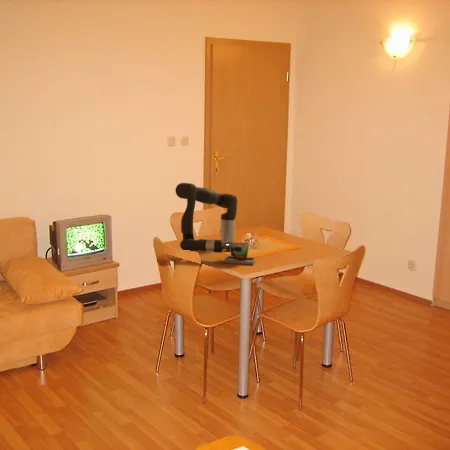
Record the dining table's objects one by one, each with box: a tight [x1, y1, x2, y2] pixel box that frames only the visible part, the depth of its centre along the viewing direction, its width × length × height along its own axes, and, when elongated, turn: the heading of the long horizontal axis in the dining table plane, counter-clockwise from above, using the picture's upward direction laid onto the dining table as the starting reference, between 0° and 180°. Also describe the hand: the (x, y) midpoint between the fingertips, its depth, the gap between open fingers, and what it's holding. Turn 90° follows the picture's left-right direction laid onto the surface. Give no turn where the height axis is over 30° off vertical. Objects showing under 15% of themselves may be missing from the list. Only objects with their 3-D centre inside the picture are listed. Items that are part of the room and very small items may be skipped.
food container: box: [229, 241, 251, 260], centre depth 357 cm, size 12×6×10 cm, turn 99°
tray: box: [223, 255, 257, 266], centre depth 359 cm, size 10×17×2 cm, turn 80°
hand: (242, 248), depth 357 cm, fingers closed on food container, 7 cm apart
